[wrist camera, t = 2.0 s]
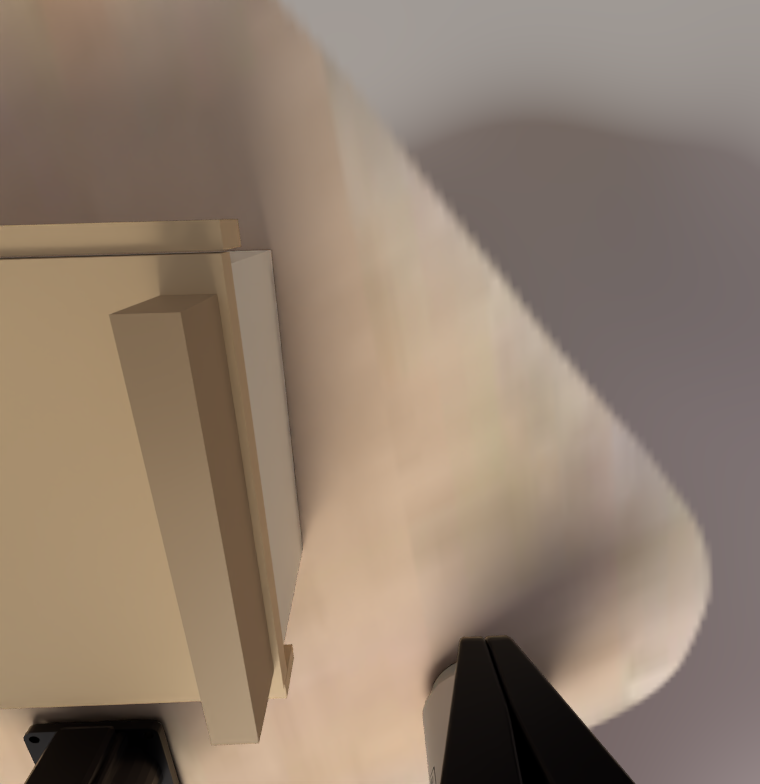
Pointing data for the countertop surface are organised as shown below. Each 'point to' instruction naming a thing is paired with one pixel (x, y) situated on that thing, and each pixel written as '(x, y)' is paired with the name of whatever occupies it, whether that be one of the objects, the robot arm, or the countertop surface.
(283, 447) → the mailer box
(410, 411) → the countertop surface
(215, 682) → the lid
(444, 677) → the energy drink can
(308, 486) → the countertop surface
